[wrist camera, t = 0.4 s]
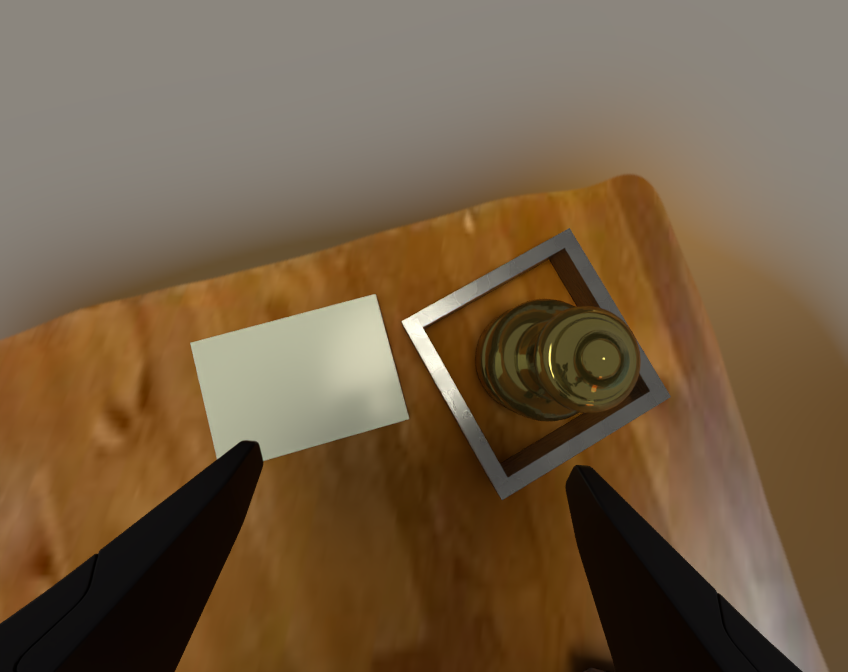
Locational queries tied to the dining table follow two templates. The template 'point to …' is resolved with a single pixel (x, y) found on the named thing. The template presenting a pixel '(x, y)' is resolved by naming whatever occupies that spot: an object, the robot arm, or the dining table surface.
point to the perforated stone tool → (593, 670)
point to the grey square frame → (576, 432)
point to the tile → (300, 379)
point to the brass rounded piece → (557, 359)
